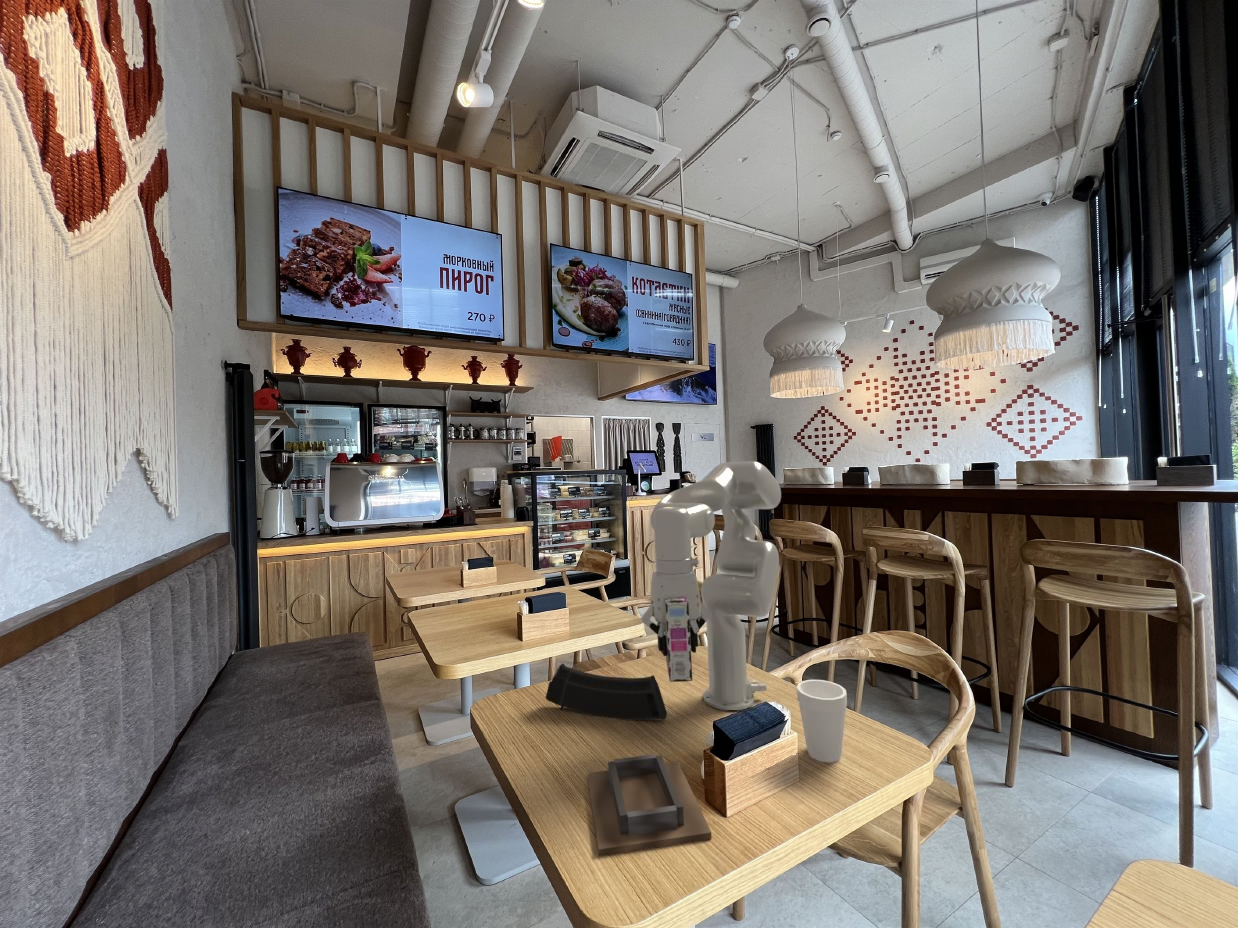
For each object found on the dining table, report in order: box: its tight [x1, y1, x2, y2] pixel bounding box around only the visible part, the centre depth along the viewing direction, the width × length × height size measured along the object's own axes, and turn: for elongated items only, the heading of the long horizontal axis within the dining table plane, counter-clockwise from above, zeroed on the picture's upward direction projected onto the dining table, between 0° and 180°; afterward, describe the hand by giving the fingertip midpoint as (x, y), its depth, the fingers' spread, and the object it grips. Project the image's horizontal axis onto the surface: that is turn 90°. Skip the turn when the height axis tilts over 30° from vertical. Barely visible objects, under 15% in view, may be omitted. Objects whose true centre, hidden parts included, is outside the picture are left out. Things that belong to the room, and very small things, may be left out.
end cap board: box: [587, 753, 713, 857], centre depth 88 cm, size 18×20×4 cm
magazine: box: [545, 663, 668, 721], centre depth 122 cm, size 17×3×30 cm
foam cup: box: [796, 679, 848, 763], centre depth 102 cm, size 10×9×13 cm
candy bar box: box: [664, 598, 693, 683], centre depth 106 cm, size 11×5×16 cm, turn 178°
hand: (678, 651), depth 105 cm, fingers closed on candy bar box, 5 cm apart
